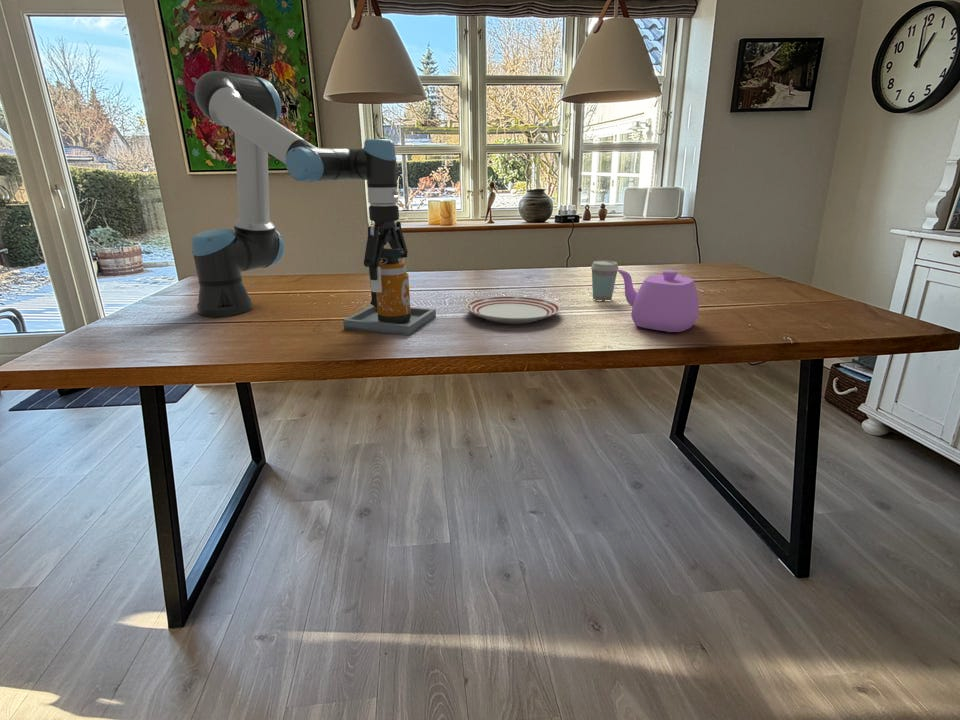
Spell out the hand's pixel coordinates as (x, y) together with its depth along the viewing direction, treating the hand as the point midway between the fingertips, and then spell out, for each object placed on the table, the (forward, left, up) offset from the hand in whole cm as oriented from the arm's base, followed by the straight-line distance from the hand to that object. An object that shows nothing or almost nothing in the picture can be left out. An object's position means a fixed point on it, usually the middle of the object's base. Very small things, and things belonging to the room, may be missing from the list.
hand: (388, 286), depth 141 cm
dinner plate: (+30, +18, -11) cm, 37 cm away
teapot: (+71, +20, -11) cm, 75 cm away
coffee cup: (+53, +44, -10) cm, 70 cm away
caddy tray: (0, 0, -10) cm, 10 cm away
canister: (0, 0, -10) cm, 10 cm away
